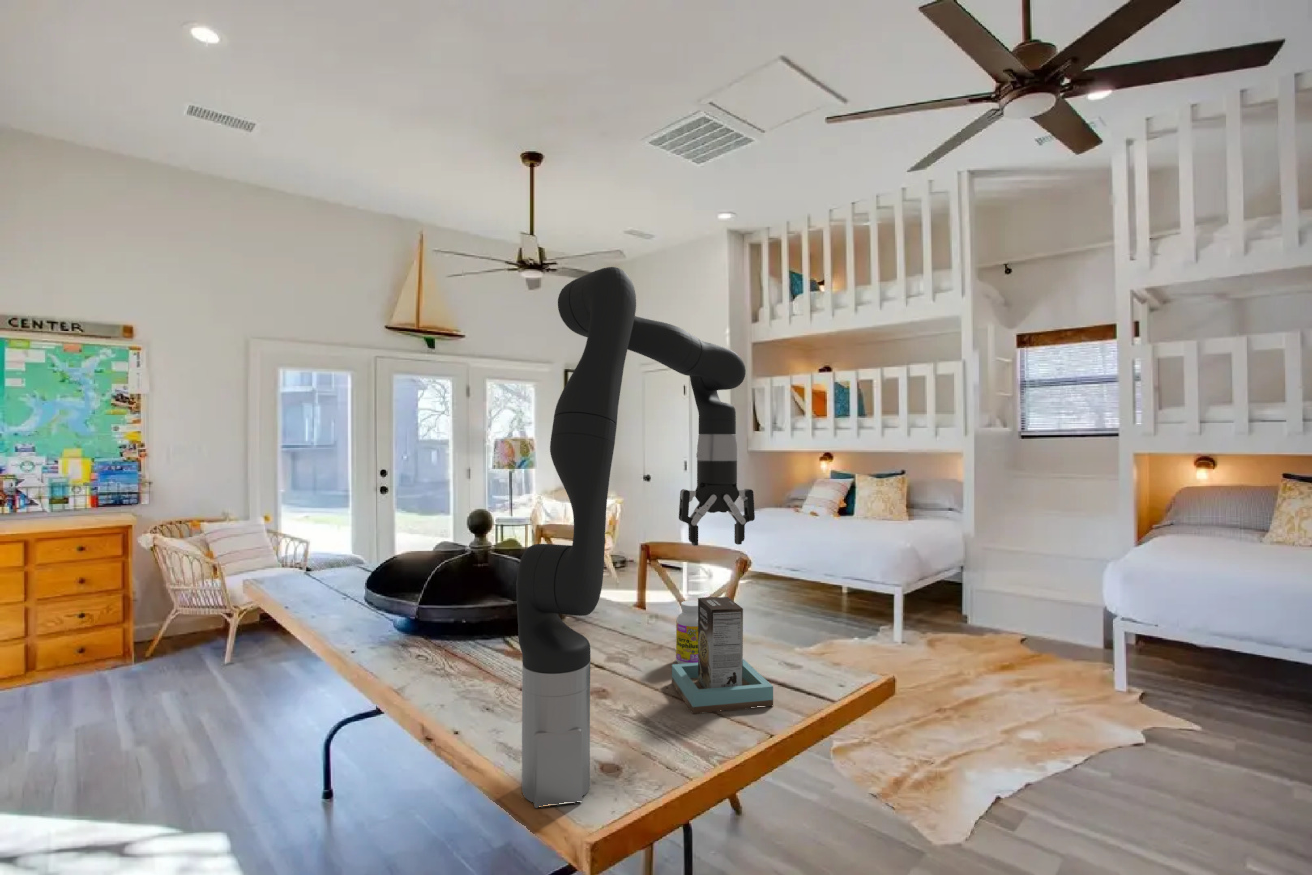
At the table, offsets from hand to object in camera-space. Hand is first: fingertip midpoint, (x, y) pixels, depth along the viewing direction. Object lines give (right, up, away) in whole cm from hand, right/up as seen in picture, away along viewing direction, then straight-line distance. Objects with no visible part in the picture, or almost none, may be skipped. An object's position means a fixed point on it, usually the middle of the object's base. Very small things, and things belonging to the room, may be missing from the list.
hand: (716, 544), depth 123 cm
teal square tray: (+1, -28, 0) cm, 28 cm away
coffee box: (+1, -27, 0) cm, 27 cm away
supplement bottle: (-4, -29, +17) cm, 34 cm away
